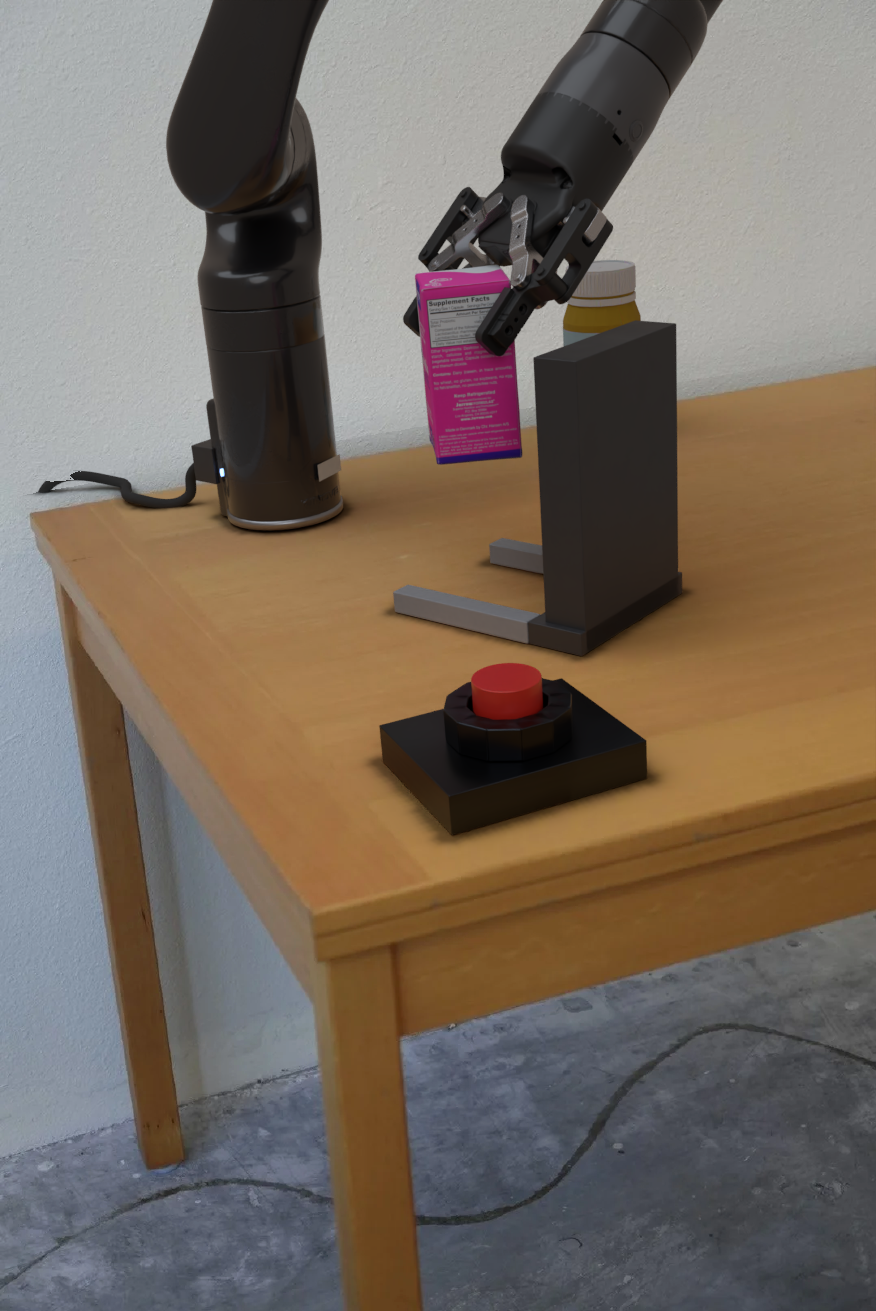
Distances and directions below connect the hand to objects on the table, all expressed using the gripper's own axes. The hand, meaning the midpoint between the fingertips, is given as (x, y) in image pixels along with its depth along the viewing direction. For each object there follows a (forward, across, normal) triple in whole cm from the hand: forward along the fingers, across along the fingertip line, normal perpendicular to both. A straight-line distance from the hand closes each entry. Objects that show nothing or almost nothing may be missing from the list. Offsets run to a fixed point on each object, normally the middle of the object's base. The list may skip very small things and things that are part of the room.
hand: (449, 339), depth 94 cm
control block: (+21, +22, +3) cm, 31 cm away
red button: (+19, +22, +1) cm, 29 cm away
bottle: (-11, -25, +36) cm, 46 cm away
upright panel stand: (+10, +5, +14) cm, 18 cm away
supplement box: (+5, 0, +6) cm, 8 cm away
